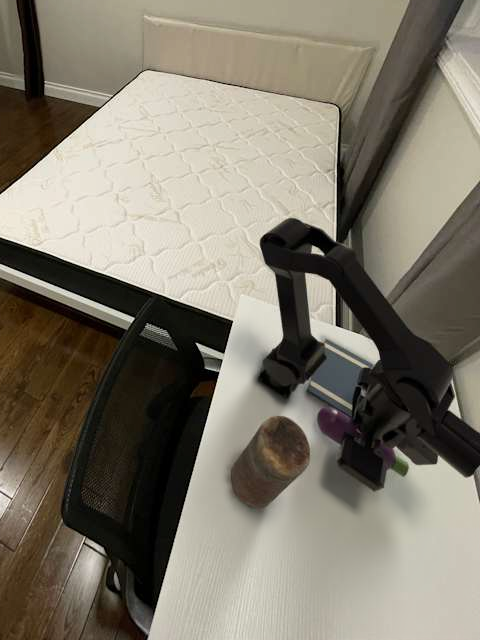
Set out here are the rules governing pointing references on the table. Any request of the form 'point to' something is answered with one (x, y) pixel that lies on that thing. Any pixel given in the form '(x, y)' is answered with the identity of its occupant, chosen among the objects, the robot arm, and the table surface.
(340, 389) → the towel
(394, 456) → the eggplant
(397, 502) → the table surface
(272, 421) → the brown textured cylinder
